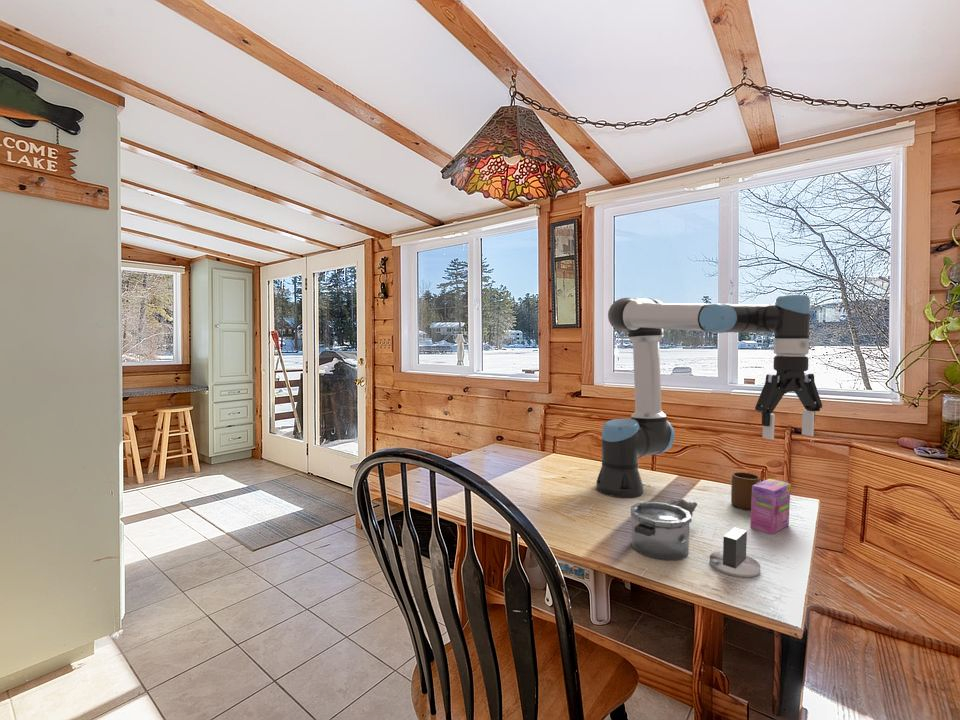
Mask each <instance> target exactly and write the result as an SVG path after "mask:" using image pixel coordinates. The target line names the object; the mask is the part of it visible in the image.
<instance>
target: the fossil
mask: <svg viewBox="0 0 960 720" xmlns="http://www.w3.org/2000/svg"><path fill="white" fill-rule="evenodd" d="M666 503H667V504H671V505H675V506H679V507H681V508H683V509H685V510H687V511H688V512H690V515H691V517H692V518H693V515H694V514H693V512H694V511H696V510H695V509H696V507H697V506H698V504H697V502H695V501H693V502H690V501H689V502H688V501H687V500H685V499H682V498H681V499H677V500H675V499H671V500H669V501H667V502H666Z"/></svg>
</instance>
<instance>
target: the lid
mask: <svg viewBox="0 0 960 720" xmlns="http://www.w3.org/2000/svg"><path fill="white" fill-rule="evenodd" d="M747 534H748V531H747V530H745V529H742V528H738V527H733V528H732V529H730V530H729V531H728V532H726V534H725V535H723V543H722V544H723V545H722V546H723V547H722V549H723V550H721V551H720V550H719V551H715V552H712V553H711V554H710V555H709V565H710V567H712V568H713V569H714V570H716V571H717V572H719V573H721V574H724V575H726V576H729V577H734V578H740V579H754V578H757V577H759V576H760V575H761V564H760V563H759V562H758V561H757V560H756V559H755V558H753V557H750V556H749V555H747V540H748V535H747Z"/></svg>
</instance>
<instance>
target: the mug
mask: <svg viewBox="0 0 960 720" xmlns="http://www.w3.org/2000/svg"><path fill="white" fill-rule="evenodd" d="M760 482H761V477H760V476H759V475H757V474H754V473H751V472H750V473H748V472H741V471H739V472H733V473H732V474H731V485H730V487H731V489H730V492H731V493H730V495H731V496H730V500H731V501H730V502H731V505H732V506H734V507H736V508H737V509H742V510H744V511H751V499H752V485H755V484H757V483H760Z"/></svg>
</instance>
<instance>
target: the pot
mask: <svg viewBox="0 0 960 720" xmlns="http://www.w3.org/2000/svg"><path fill="white" fill-rule="evenodd" d="M630 516H631V548H632V549H633V550H634V551H636V552H637V553H638V554H640V555H641V556H644V557H647V558H650V559H654V560H661V561H669V562H670V561H680V560H682V559H683V560H684V559H685V558H687V557H688V555H689V553H690V552H689V551H690V550H689V549H690V548H689V546H690V544H689V543H690V523H692V518H693V516H692V517H691V515H690V512H688V511H687V510H685V509H683V508H681V507H679V506H675V505H671V504H667V502H660V501H659V502H658V501H644V502H643V501H642V502H637V503H635V504H633V505H631V506H630Z"/></svg>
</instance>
